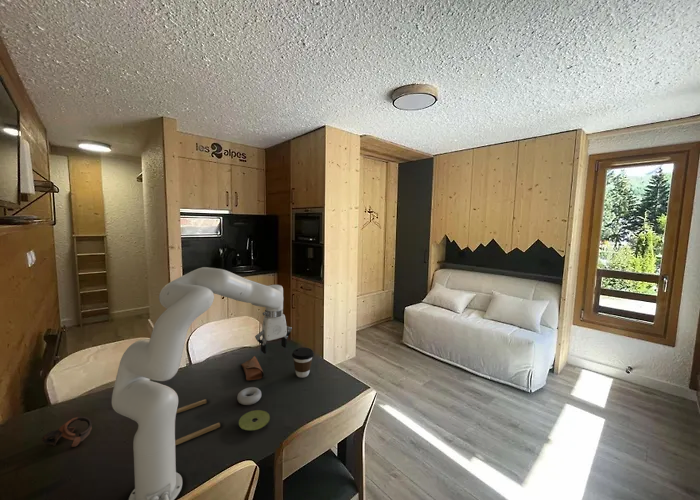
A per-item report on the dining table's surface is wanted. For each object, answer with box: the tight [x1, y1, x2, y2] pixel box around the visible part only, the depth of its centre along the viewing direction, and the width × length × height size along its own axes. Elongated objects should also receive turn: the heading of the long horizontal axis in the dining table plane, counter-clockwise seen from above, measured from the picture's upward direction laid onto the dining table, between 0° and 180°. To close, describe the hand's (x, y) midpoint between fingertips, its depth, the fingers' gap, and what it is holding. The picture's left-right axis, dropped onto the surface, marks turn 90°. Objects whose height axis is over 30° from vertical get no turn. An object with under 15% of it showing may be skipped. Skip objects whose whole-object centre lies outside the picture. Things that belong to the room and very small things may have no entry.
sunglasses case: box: [240, 355, 265, 381], centre depth 148 cm, size 18×7×7 cm
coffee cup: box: [291, 347, 315, 378], centre depth 146 cm, size 11×11×12 cm
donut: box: [236, 386, 263, 406], centre depth 125 cm, size 10×4×10 cm
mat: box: [238, 409, 271, 431], centre depth 110 cm, size 11×11×2 cm
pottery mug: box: [41, 416, 93, 448], centre depth 98 cm, size 12×10×8 cm
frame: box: [175, 398, 221, 447], centre depth 109 cm, size 19×17×1 cm
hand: (274, 349), depth 131 cm, fingers open, 9 cm apart
